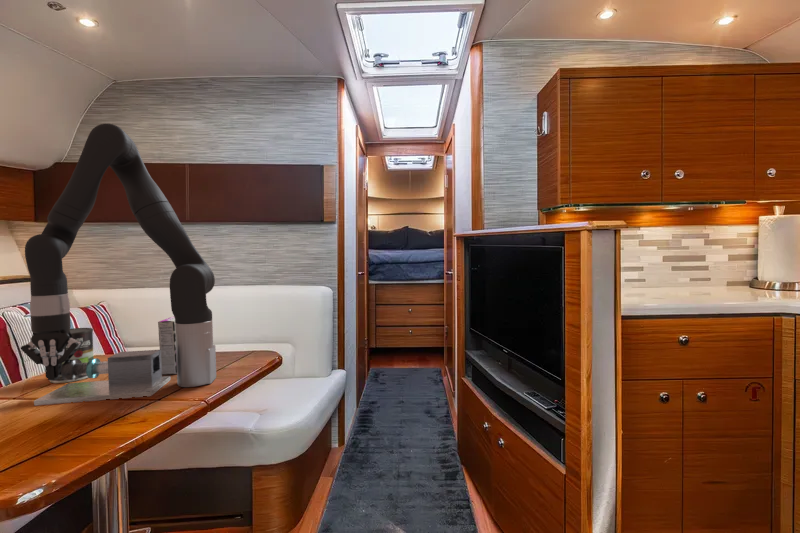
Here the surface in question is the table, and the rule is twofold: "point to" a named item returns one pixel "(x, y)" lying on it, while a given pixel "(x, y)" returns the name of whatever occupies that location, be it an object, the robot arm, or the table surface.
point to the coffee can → (80, 350)
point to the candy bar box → (168, 346)
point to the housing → (116, 380)
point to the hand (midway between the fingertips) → (53, 379)
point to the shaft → (83, 369)
